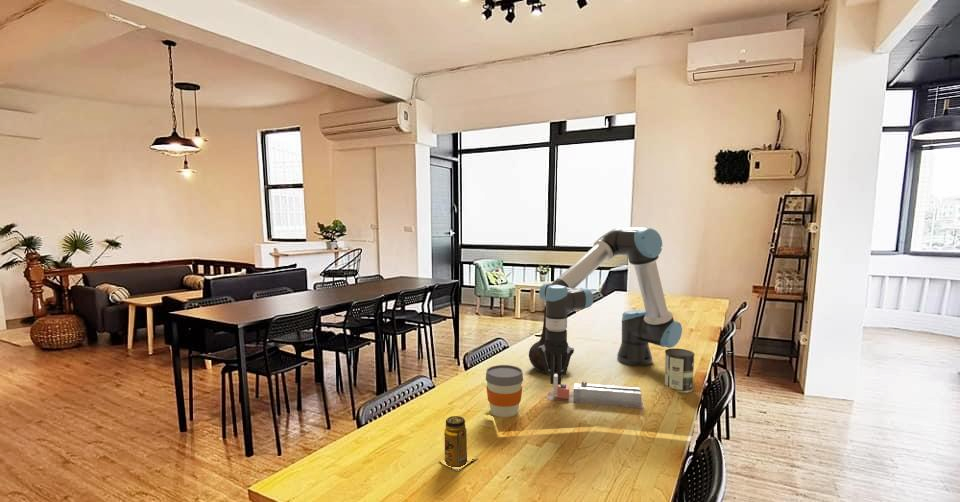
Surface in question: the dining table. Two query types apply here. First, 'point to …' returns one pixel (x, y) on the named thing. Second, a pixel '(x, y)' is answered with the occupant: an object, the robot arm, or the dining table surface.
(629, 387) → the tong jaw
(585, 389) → the grey long bar
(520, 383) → the reusable coffee cup
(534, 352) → the dark brown vase
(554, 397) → the board
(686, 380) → the coffee can
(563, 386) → the tab
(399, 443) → the dining table surface
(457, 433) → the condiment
